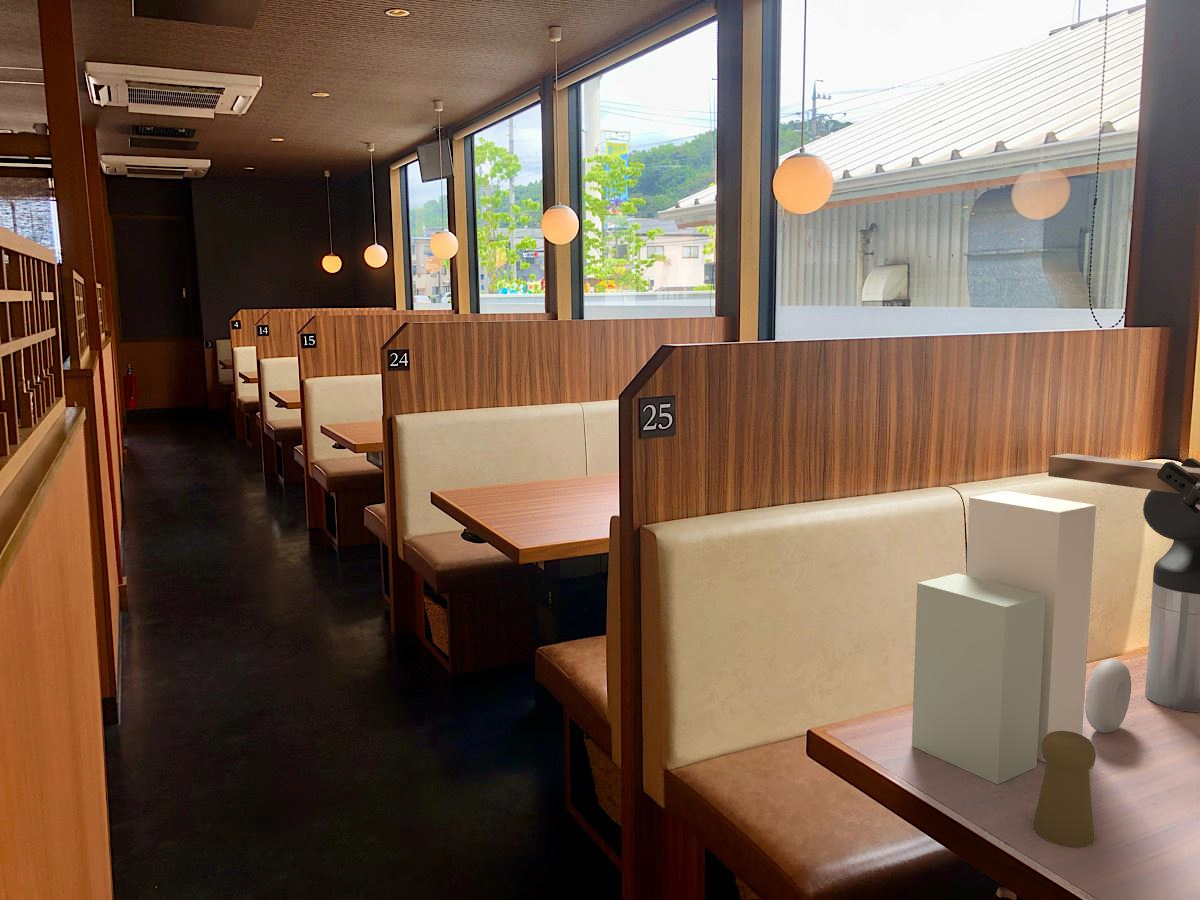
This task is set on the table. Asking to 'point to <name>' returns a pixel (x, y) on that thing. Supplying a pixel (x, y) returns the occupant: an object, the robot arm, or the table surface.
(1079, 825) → the cork
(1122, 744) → the table surface
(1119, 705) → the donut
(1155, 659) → the robot arm
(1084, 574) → the stand
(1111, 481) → the slat
